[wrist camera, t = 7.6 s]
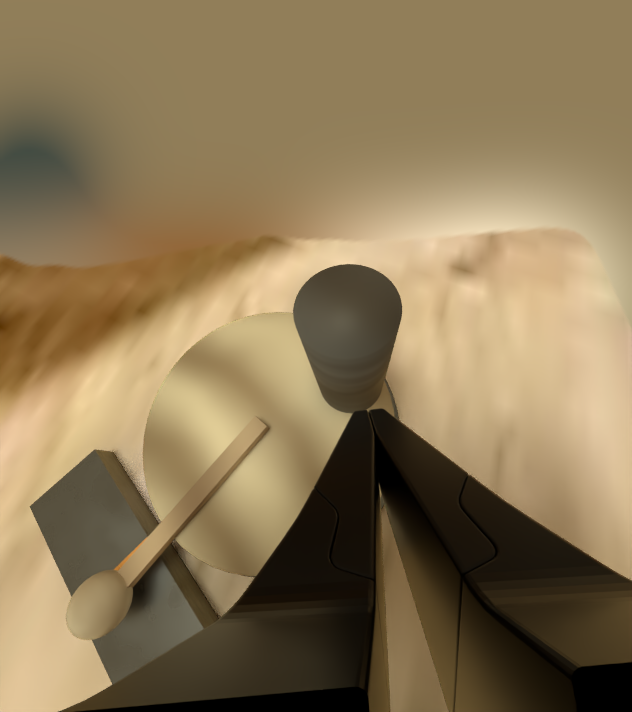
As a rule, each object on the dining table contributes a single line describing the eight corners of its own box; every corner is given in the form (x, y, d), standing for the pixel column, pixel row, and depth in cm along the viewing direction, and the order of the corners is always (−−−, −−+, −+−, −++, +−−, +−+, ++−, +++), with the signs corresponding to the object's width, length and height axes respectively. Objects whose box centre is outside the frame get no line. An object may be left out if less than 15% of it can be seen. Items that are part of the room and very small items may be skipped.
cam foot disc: (201, 747, 15) (-75, 1218, 5) (48, 509, 20) (-228, 531, 11) (443, 409, 20) (525, 338, 10) (267, 287, 25) (212, 165, 15)
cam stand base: (176, 750, 16) (155, 781, 14) (47, 493, 22) (22, 494, 20) (453, 427, 20) (461, 422, 19) (282, 287, 26) (278, 273, 25)
